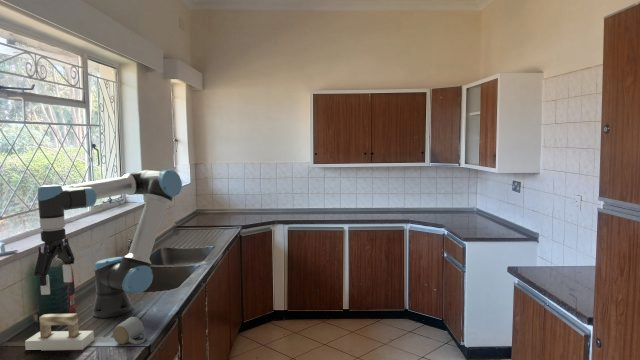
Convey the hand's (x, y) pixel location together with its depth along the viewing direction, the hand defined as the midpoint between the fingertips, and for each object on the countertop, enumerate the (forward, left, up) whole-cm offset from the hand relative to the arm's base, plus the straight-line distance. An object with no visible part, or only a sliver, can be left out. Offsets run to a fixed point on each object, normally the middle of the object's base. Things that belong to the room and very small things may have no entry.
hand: (57, 287), depth 161 cm
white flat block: (0, 0, -21) cm, 21 cm away
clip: (0, 0, -21) cm, 21 cm away
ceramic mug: (-24, +7, -21) cm, 33 cm away
